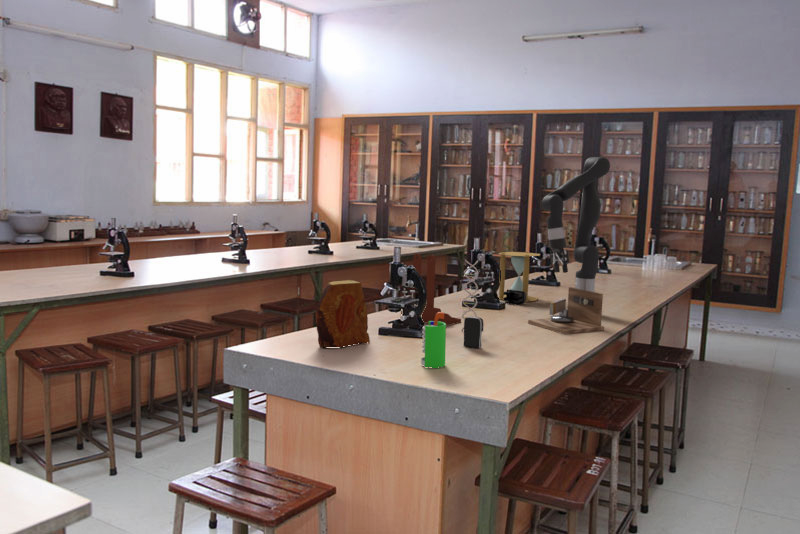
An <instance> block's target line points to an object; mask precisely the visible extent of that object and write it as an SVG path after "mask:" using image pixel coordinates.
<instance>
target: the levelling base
mask: <svg viewBox="0 0 800 534" xmlns="http://www.w3.org/2000/svg"><path fill="white" fill-rule="evenodd" d="M567 295H568V296H567V297H568V298H567V310H568V316H571V317H574V322H572V323H559V322H554V321H551V317H549V318H537V319H528V320H527V324H529V325H532V326H535V325H536V326H535V327H539V328H542V327H543V329H545V328H546V329H545V330H549V329H550V331H552V330H554V331H553V332H556V331H558V332H557V333H559V332H561V333H560V334H562V333H564V334H563V335H566V334H565V333H570V334H578V333H577V332H581V333H590V332H589V331H591V332H600V330H602V331H605V326H604V325H603V326H602V315H603V302H604V301H603V298H604V294H603V293H601V292H595V291H594V292H592V291H587V290H582V289H577V288H575V287H568V293H567Z"/></svg>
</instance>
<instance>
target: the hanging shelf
mask: <svg viewBox="0 0 800 534" xmlns="http://www.w3.org/2000/svg"><path fill="white" fill-rule="evenodd" d="M431 259H432V260H431ZM412 261H413V267H415V268H416V270H417V271H418V273H419V274H420V276H421V277H422V255H421V254H420V253H418V252H417V253H414V255H413V260H412ZM413 267H412V268H413ZM435 281H436V257H435V256H434V255H433V254H430V255H429V254H428V255H427V261H426V289H427V304H426V303H425V306H426V308H425V310H424V312H423V314H422V319H423V321H424V322H423V323H425V322H428V323H427V324H429V321H434V320H435V316H436V314H437V313H438V312H442V310H441V308H439V307H435V283H436V282H435ZM443 313H444V319H441V318H439V319H438V322H444V323H446V326H450V325H454V324H453V323H455V324H458V323H457V322H460V323H462V318H459V317H452V315H450V314H449V313H445V312H443ZM401 314H402V311H401V310H400V315H401ZM449 324H450V325H449Z"/></svg>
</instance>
